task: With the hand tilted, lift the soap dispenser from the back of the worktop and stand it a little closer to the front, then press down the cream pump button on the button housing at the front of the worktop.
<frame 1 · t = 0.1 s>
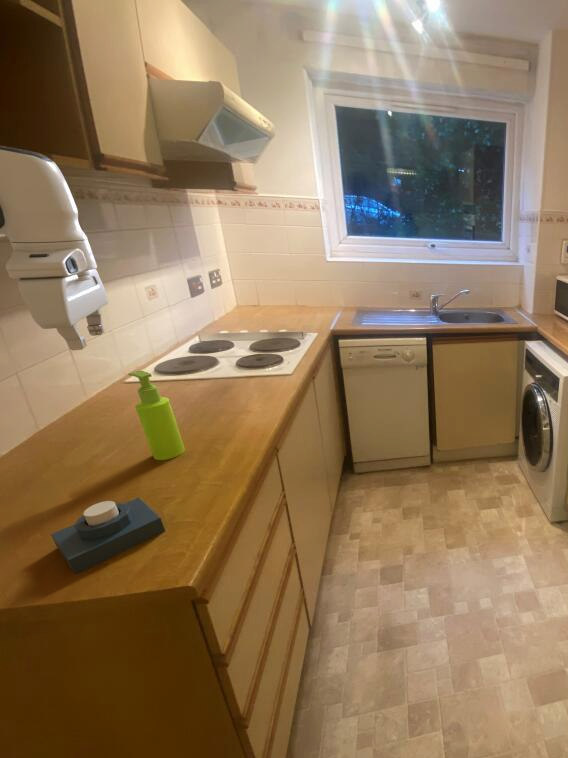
hand: (89, 341, 75), 32 cm above the countertop, tool pointing down, fingers open, 8 cm apart
button housing: (113, 539, 75), on the countertop
soap dispenser: (168, 453, 101), on the countertop
pump button: (101, 513, 73), point 6 cm above the countertop, slide at 0.1 cm
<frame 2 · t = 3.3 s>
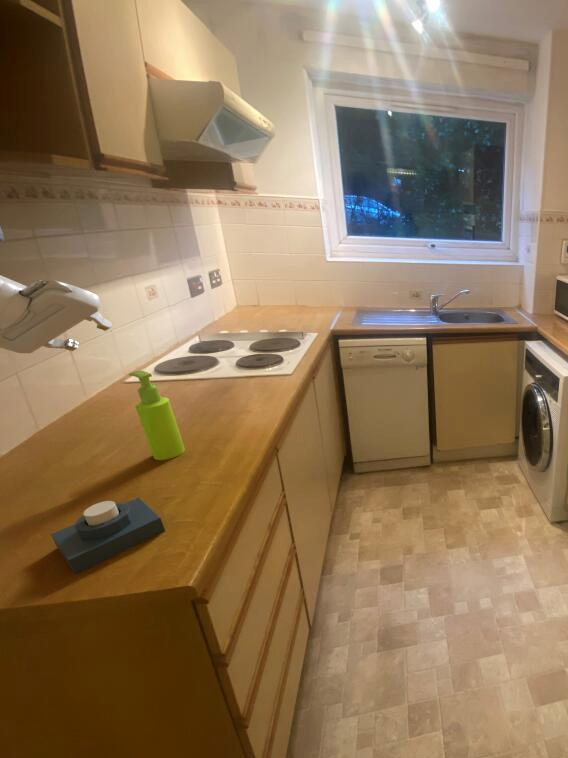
hand: (92, 337, 90), 28 cm above the countertop, tool tilted 50°, fingers open, 8 cm apart
nothing on the countertop moved.
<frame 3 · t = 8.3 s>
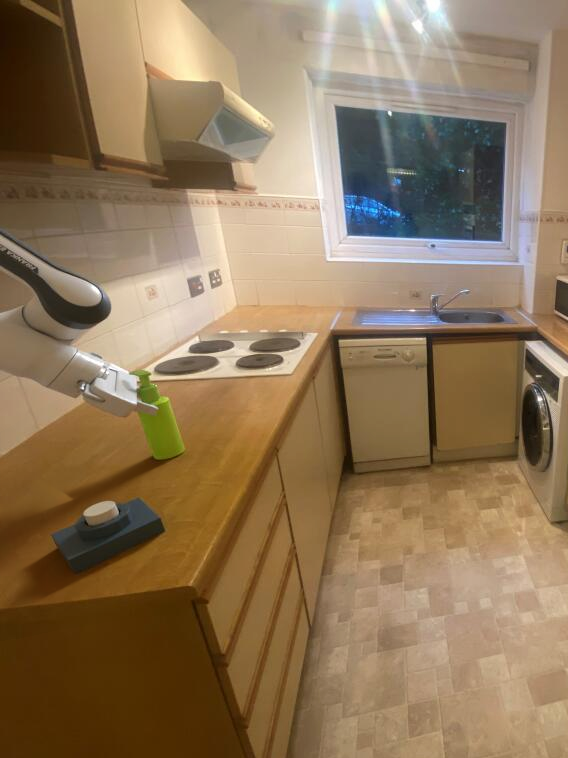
hand: (156, 406, 97), 12 cm above the countertop, tool tilted 45°, fingers closed on soap dispenser, 6 cm apart
soap dispenser: (168, 453, 101), on the countertop, touching gripper
everything else where it was.
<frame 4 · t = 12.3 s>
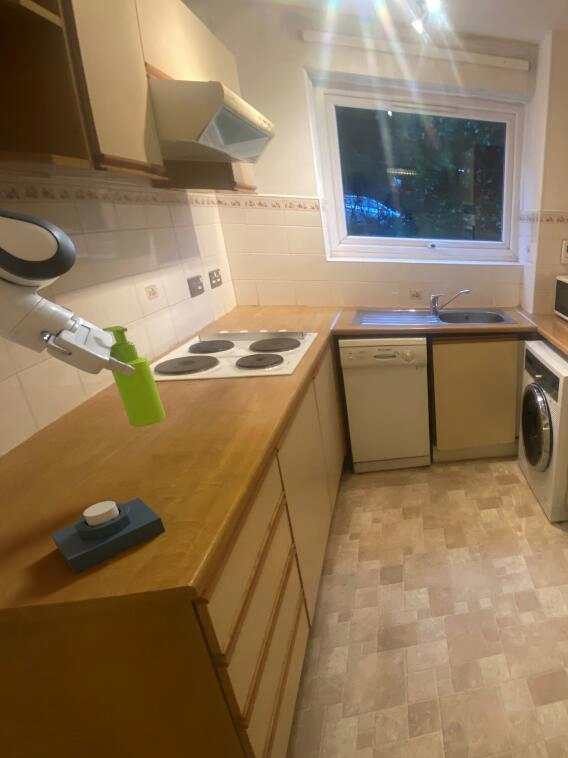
hand: (133, 367, 88), 23 cm above the countertop, tool tilted 45°, fingers closed on soap dispenser, 6 cm apart
soap dispenser: (147, 420, 92), point 11 cm above the countertop, touching gripper
everything else where it was.
when the fingers open (12 cm above the countertop, at t = 16.3 s): soap dispenser stays where it is, on the countertop.
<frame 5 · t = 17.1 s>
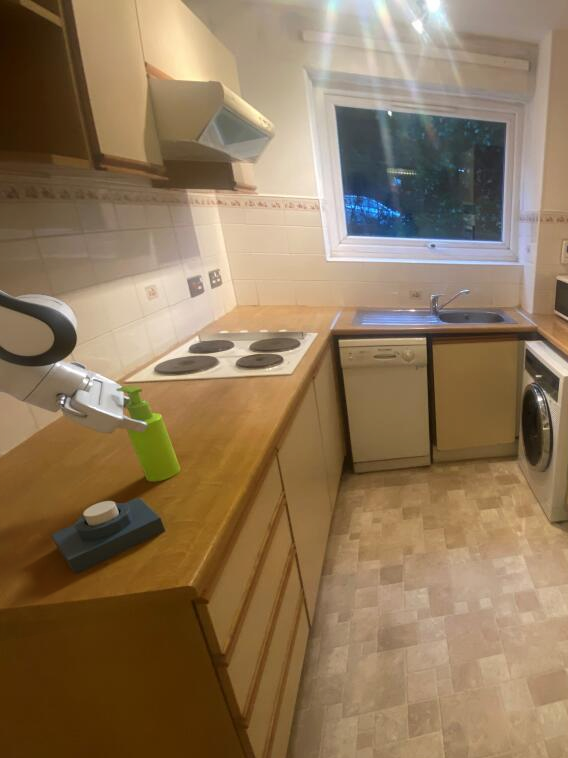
hand: (144, 419, 89), 13 cm above the countertop, tool tilted 45°, fingers open, 8 cm apart
soap dispenser: (162, 474, 93), on the countertop, touching gripper
everything else where it was.
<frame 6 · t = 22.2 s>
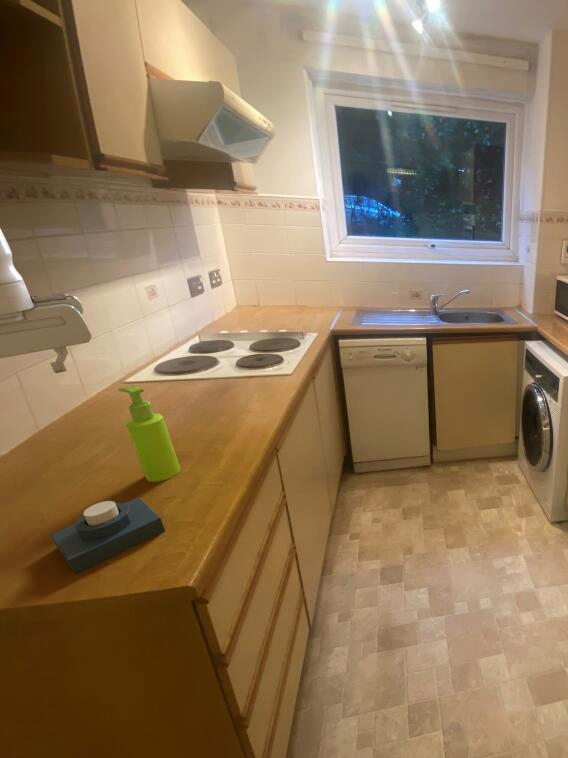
hand: (27, 378, 77), 25 cm above the countertop, tool pointing down, fingers open, 7 cm apart
soap dispenser: (162, 474, 93), on the countertop
everything else where it was.
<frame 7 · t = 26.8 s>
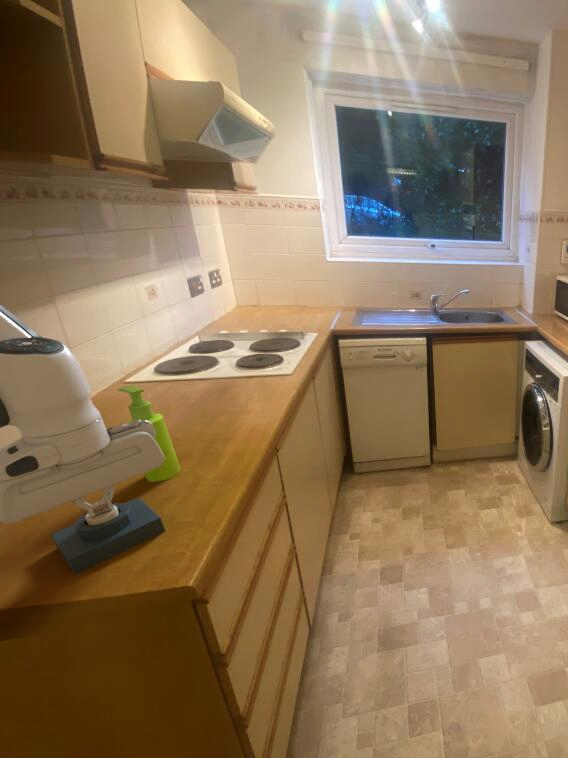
hand: (101, 512, 73), 6 cm above the countertop, tool pointing down, fingers closed, pressing on pump button
pump button: (103, 517, 73), point 5 cm above the countertop, slide at -0.8 cm, touching gripper
everything else where it was.
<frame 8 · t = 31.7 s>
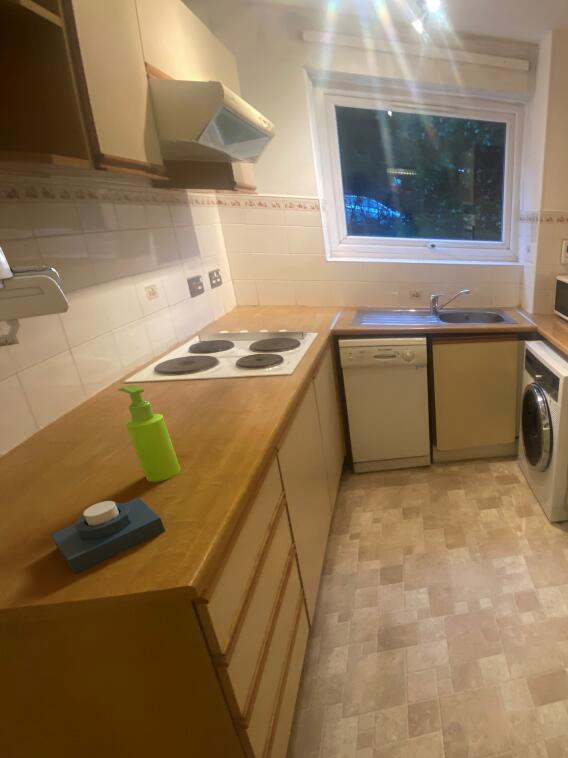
hand: (7, 345, 81), 29 cm above the countertop, tool pointing down, fingers closed
pump button: (101, 513, 73), point 6 cm above the countertop, slide at 0.1 cm
everything else where it was.
at the end: pump button pushed in 1.3 cm at the most during the clip, back to where it started at the end; soap dispenser inside the target area (0.6 cm from its centre), on the countertop; soap dispenser tilted 0° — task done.
